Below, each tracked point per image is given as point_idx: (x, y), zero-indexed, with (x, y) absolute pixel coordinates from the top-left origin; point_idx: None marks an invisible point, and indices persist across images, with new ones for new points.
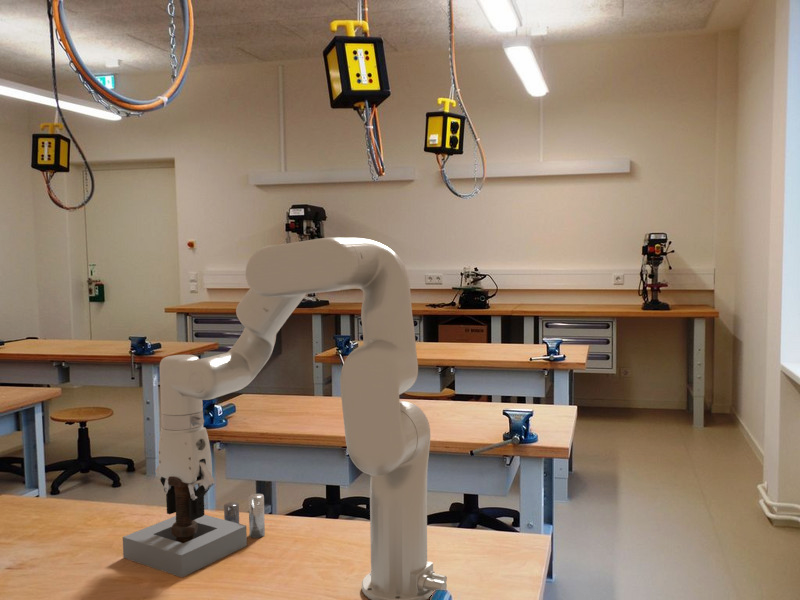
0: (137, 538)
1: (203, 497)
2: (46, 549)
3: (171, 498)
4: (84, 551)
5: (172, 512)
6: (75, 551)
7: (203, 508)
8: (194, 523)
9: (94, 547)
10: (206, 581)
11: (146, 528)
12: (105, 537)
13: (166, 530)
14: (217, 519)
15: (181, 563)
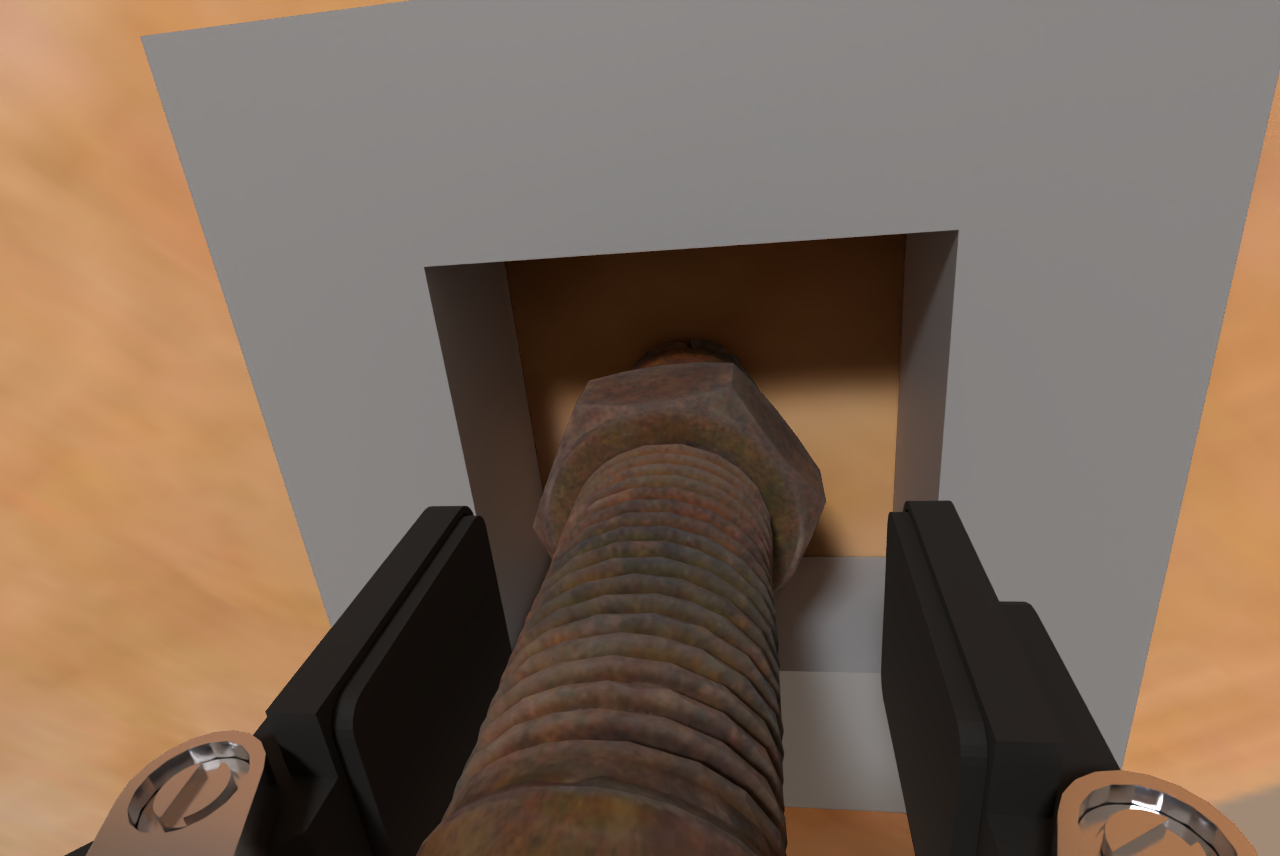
0: None
1: (1041, 706)
2: (37, 770)
3: (432, 816)
4: (189, 707)
5: (508, 650)
6: (157, 726)
7: (1049, 638)
8: (767, 467)
9: (164, 653)
10: (1264, 648)
11: (342, 612)
12: (37, 535)
13: (486, 525)
14: (710, 7)
15: None
